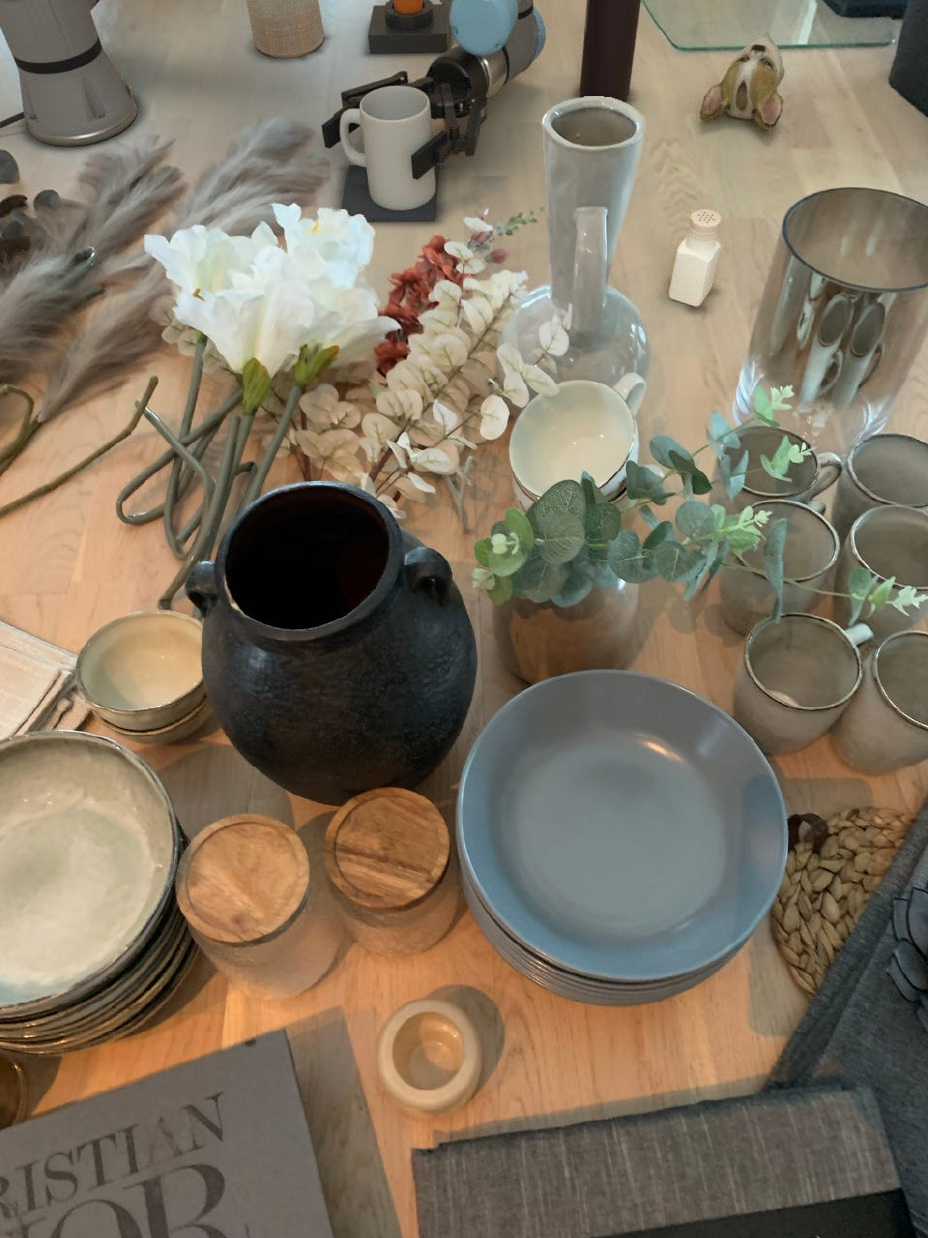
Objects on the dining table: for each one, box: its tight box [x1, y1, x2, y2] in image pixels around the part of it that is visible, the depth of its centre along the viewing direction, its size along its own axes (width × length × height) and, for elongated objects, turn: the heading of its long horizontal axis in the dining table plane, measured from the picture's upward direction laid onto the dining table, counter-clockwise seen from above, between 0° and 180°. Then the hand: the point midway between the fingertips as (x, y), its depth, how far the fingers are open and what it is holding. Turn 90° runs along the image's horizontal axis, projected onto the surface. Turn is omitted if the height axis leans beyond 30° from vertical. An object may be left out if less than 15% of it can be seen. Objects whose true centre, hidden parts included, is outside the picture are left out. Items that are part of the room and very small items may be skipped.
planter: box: [245, 0, 325, 59], centre depth 131 cm, size 11×11×10 cm
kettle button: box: [394, 0, 423, 13], centre depth 131 cm, size 4×4×2 cm
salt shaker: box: [668, 208, 722, 307], centre depth 95 cm, size 4×4×10 cm
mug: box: [340, 86, 435, 211], centre depth 106 cm, size 12×8×11 cm
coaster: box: [340, 163, 440, 222], centre depth 111 cm, size 12×12×1 cm
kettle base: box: [367, 0, 451, 55], centre depth 133 cm, size 12×10×4 cm
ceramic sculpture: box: [699, 31, 786, 131], centre depth 117 cm, size 11×9×15 cm
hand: (368, 152), depth 104 cm, fingers open, 13 cm apart
